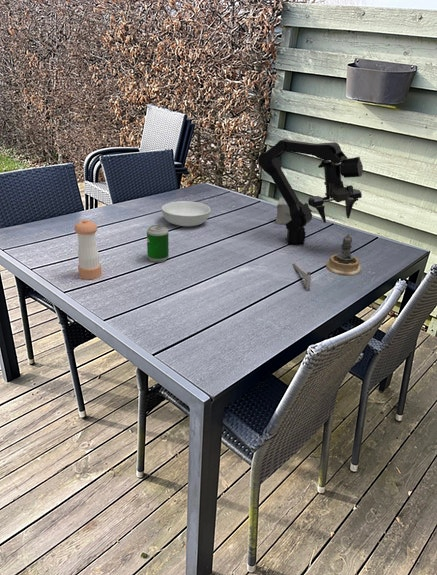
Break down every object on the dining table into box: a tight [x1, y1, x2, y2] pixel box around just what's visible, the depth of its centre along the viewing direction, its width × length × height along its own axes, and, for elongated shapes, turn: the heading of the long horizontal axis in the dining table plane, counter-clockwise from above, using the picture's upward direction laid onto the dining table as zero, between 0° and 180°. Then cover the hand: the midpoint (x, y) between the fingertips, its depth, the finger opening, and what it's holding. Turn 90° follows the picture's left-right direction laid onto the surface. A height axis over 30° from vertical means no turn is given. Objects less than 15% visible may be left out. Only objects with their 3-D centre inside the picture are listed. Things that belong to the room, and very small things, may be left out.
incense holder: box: [275, 197, 302, 225], centre depth 210 cm, size 10×8×10 cm
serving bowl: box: [161, 200, 212, 227], centre depth 205 cm, size 21×21×7 cm
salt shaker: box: [336, 233, 354, 264], centre depth 167 cm, size 6×6×12 cm
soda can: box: [146, 224, 170, 263], centre depth 169 cm, size 8×8×12 cm
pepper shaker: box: [74, 218, 102, 280], centre depth 153 cm, size 7×7×19 cm
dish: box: [325, 253, 362, 277], centre depth 170 cm, size 12×12×4 cm
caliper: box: [292, 262, 312, 291], centre depth 162 cm, size 20×1×6 cm, turn 5°
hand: (336, 220), depth 179 cm, fingers open, 9 cm apart
